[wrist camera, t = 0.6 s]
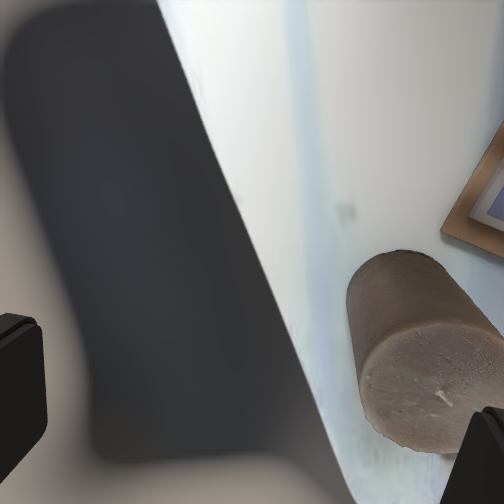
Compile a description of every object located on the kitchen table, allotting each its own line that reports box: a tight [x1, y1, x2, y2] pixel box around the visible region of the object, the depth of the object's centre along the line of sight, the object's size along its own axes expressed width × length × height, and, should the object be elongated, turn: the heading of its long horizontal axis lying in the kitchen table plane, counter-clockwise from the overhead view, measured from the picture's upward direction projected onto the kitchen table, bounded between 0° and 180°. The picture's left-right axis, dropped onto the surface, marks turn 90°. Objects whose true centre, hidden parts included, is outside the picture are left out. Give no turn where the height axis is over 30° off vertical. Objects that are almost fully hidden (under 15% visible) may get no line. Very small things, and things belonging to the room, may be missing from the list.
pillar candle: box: [346, 250, 504, 454], centre depth 30 cm, size 10×10×15 cm
